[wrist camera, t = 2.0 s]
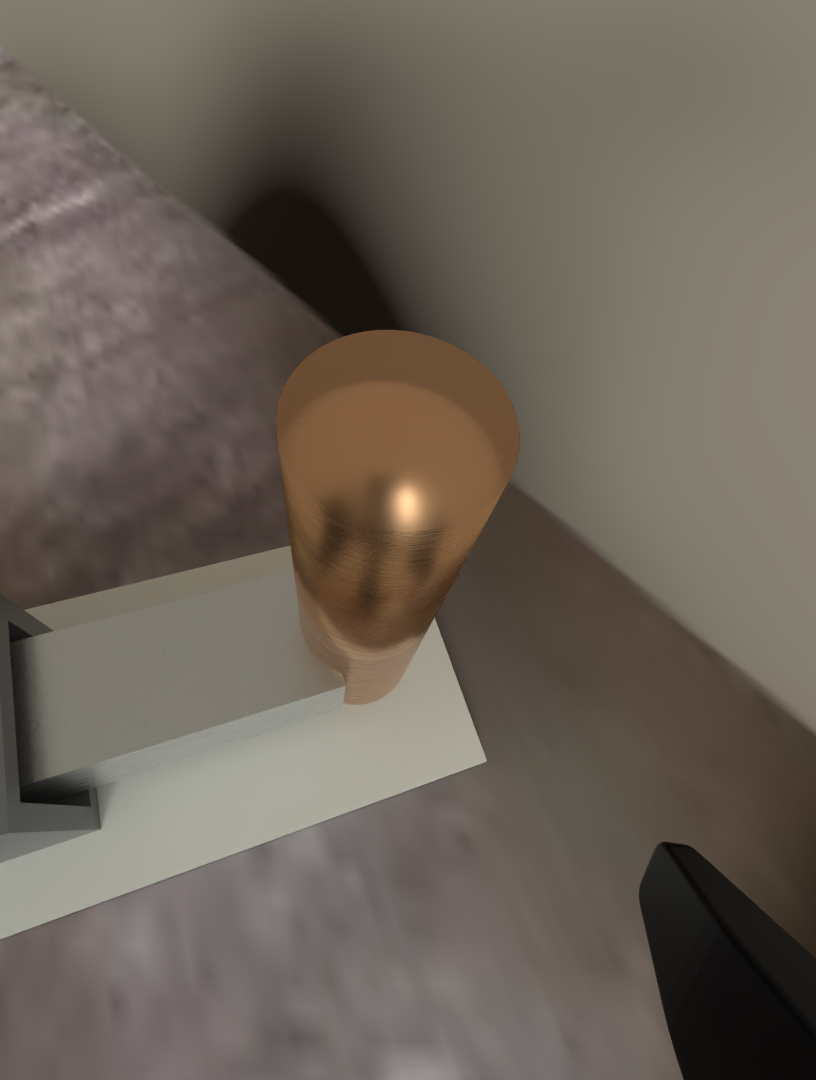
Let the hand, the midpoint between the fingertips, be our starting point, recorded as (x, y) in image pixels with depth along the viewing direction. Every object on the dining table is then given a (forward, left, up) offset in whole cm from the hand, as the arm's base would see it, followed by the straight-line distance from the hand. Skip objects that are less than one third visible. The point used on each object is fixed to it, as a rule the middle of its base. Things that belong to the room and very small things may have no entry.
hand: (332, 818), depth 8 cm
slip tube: (-1, +6, -10) cm, 12 cm away
